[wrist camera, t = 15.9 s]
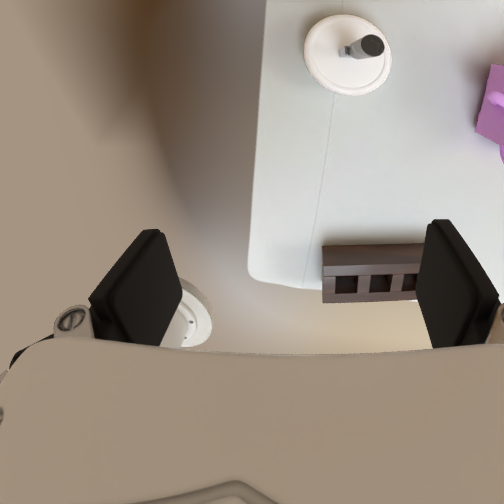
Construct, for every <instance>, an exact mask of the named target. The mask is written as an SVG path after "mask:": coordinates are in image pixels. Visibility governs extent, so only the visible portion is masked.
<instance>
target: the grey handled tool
mask: <svg viewBox="0 0 504 504" xmlns="http://www.w3.org/2000/svg"><path fill="white" fill-rule="evenodd" d="M384 48H385V46H384V43H383V41H382V39H381V38H379V37H378V36H376V35H373V34H369V35H366V36H364V37H362V38H360V39H358V40H357V41H355V42H353V43H351V44H350V45H349V46H344V47H342V48H340V49H339V56H340V58H354V59H358V60H359V59H365V58H371V57H377V56H380V55H381V54H382V53H383V52H384Z"/></svg>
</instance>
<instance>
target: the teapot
mask: <svg viewBox="0 0 504 504" xmlns="http://www.w3.org/2000/svg"><path fill="white" fill-rule="evenodd" d="M486 84H487V87H486V92H485V96H484V100H483V104H482V108H481V111H480V112H479V114H478V122H477V126H476V129H475V132H477V133H479V134H480V135H482V136H484V137H486V138H488V139H490V140H492V141H494V142H495V143H497V144H499V145H500V155H501V159H502V161H503V163H504V65H495V64H491V69H490V73H489V78H488V79H487V82H486Z"/></svg>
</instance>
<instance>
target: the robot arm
mask: <svg viewBox="0 0 504 504" xmlns="http://www.w3.org/2000/svg"><path fill="white" fill-rule="evenodd" d="M415 291H416V297H417V300H418V303H419V306H420V308H421V311H422V315H423V318H424V320H425V324H426V327H427V330H428V333H429V337H430V340H431V344H432V347H433V349H424V350H410V351H397V352H383V353H360V354H311V355H310V354H305V355H304V354H302V355H301V354H298V355H297V354H295V355H293V354H256V353H234V352H217V351H202V350H190V349H180V348H181V345H182V343H183V341H185V340H188V339H190V338H191V337H192V336H193V335H194V334H195V332H196V329H197V320H196V317H195V315H194V313H193V312H192V311H191V309H190V308H189V307H188V306H187V305H186V304H184V303H183V302H181V299H182V296H183V290H182V287H181V284H180V281H179V278H178V275H177V272H176V269H175V266H174V262H173V259H172V256H171V253H170V250H169V247H168V244H167V241H166V237H165V235H164V233H161V232H160V230H158V229H148V230H143V231H142V232H141V233H140V234H139V235H138V237H137V238H136V239H135V240H134V241H133V242H132V244H131V245H130V246H129V247H128V248H127V250H126V251H125V252H124V253H123V255H122V256H121V257H120V258H119V259H118V261H117V262H116V263H115V265H114V266H113V267H112V268H111V269H110V271H109V272H108V273H107V275H106V276H105V277H104V278H103V280H102V281H101V282H100V284H99V285H98V286H97V287H96V289H95V290H94V291H93V293H92V294H91V295H90V297H89V298H88V300H89V302H90V303H91V305H92V306H91V307H90V308H89V309H88V307H86V306H85V305H75V306H72V307H69V308H68V309H66V310H64V311H63V312H62V313H61V314H60V315H59V316H58V317H57V318H56V320H55V322H54V334H52V335H50V336H48V337H46V338H44V339H42V340H40V341H38V342H36V343H34V344H32V345H31V346H28V347H26V348H24V349H23V350H20V351H18V352H17V353H16V354H15V355H14V357H13V359H12V361H11V364H10V368H9V371H7V370H6V371H4V372H3V373H2V374H1V375H0V504H504V303H503V304H501V303H500V301H499V299H498V297H499V294H498V292H497V291H496V289H495V287H494V285H493V284H492V282H491V280H490V279H489V277H488V276H487V274H486V272H485V271H484V269H483V268H482V266H481V264H480V263H479V261H478V260H477V258H476V257H475V255H474V254H473V252H472V251H471V249H470V248H469V246H468V245H467V244H466V242H465V241H464V239H463V238H462V237H461V235H460V234H459V232H458V231H457V230H456V228H455V227H454V226H453V224H452V223H451V221H450V220H449V219H434V220H433V221H432V224H428V226H427V231H426V237H425V243H424V248H423V254H422V259H421V264H420V269H419V273H418V278H417V283H416V289H415Z"/></svg>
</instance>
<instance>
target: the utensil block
mask: <svg viewBox="0 0 504 504" xmlns="http://www.w3.org/2000/svg"><path fill="white" fill-rule="evenodd" d="M423 248H424V244H387V245H346V246H322V295H323V303H348V302H375V301H376V302H377V301H398V300H416V299H417V297H416V291H415V289H416V283H417V278H418V273H419V269H420V264H421V259H422V254H423Z"/></svg>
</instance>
